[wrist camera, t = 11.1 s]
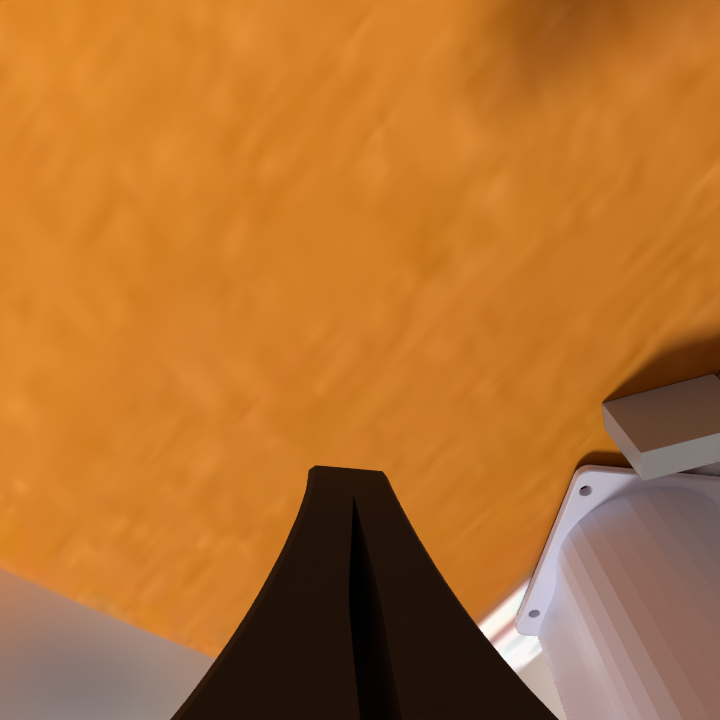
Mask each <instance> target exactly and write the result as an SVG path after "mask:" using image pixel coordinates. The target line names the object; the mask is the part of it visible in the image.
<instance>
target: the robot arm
mask: <svg viewBox="0 0 720 720" xmlns="http://www.w3.org/2000/svg"><path fill="white" fill-rule="evenodd" d="M584 486H587V487H586V488H584V489H581V488H582V487H584ZM515 626H516V630H517V632H518V633H520V634H521V635H528V636H538V639H539V642H540V645H541V647H542V650H543V653H544V655H545V658H546V661H547V664H548V667H549V670H550V672H551V675H552V678H553V681H554V684H555V686H556V689H557V692H558V695H559V697H560V700H561V703H562V706H563V709H564V712H565V714H566V717H567V720H720V477H717V476H706V475H696V474H685V473H673V474H669V475H665V476H661V477H657V478H653V479H649V480H645V481H643V480H642V479H641V477H640V476H639V475H638V473H637V472H636V471H635V469H631V468H620V467H610V466H599V465H585V466H582V467H580V468H579V469H578V470H577V471H576V472H575V474H574V476H573V478H572V481H571V483H570V486H569V488H568V491H567V493H566V496H565V498H564V501H563V503H562V506H561V508H560V511H559V513H558V516H557V518H556V521H555V523H554V526H553V528H552V531H551V533H550V536H549V538H548V541H547V543H546V546H545V548H544V551H543V553H542V556H541V558H540V561H539V563H538V566H537V568H536V571H535V573H534V575H533V578H532V580H531V583H530V585H529V588H528V590H527V593H526V595H525V598H524V600H523V603H522V605H521V608H520V610H519V613H518V615H517V618H516V620H515ZM170 720H559V719H558V718H557V717H556V716H555V715H554V714H553V713H552V712H551V711H550V710H549V709H548V708H547V707H546V706H545V705H544V704H543V703H542V702H541V701H540V700H539V699H538V698H537V697H536V695H535V694H534V693H533V692H532V691H531V690H530V689H529V688H528V687H527V686H526V685H525V683H524V682H523V681H522V680H521V679H520V678H519V676H518V675H517V674H516V673H515V672H514V671H513V669H512V668H511V667H510V666H509V665H508V664H507V662H506V661H505V660H504V659H503V658H502V657H501V655H500V654H499V653H498V652H497V650H496V649H495V648H494V647H493V645H492V644H491V643H490V642H489V640H488V639H487V638H486V637H485V635H484V634H483V633H482V632H481V630H480V629H479V628H478V626H477V625H476V624H475V622H474V621H473V620H472V618H471V617H470V616H469V614H468V613H467V611H466V610H465V609H464V607H463V606H462V605H461V603H460V602H459V600H458V599H457V597H456V596H455V594H454V593H453V592H452V590H451V589H450V587H449V586H448V584H447V583H446V581H445V580H444V578H443V577H442V575H441V574H440V572H439V571H438V569H437V567H436V566H435V564H434V563H433V561H432V559H431V558H430V556H429V554H428V553H427V551H426V549H425V548H424V546H423V544H422V543H421V541H420V540H419V538H418V536H417V534H416V533H415V531H414V529H413V527H412V526H411V524H410V522H409V520H408V518H407V516H406V514H405V513H404V511H403V509H402V507H401V505H400V503H399V501H398V499H397V497H396V495H395V493H394V491H393V489H392V487H391V485H390V483H389V480H388V478H387V476H386V475H385V474H384V473H383V472H382V471H374V470H363V469H351V468H340V467H329V466H317V465H316V466H314V467H313V468H311V469H310V470H309V473H308V480H307V487H306V491H305V495H304V498H303V501H302V504H301V507H300V510H299V512H298V515H297V518H296V520H295V522H294V525H293V527H292V529H291V531H290V534H289V536H288V538H287V540H286V543H285V545H284V547H283V549H282V551H281V553H280V555H279V557H278V559H277V561H276V563H275V565H274V567H273V568H272V570H271V572H270V574H269V576H268V578H267V580H266V581H265V583H264V585H263V587H262V589H261V591H260V592H259V594H258V596H257V597H256V599H255V601H254V603H253V604H252V606H251V608H250V609H249V611H248V612H247V614H246V616H245V617H244V619H243V620H242V622H241V623H240V625H239V627H238V628H237V630H236V631H235V633H234V634H233V636H232V637H231V639H230V640H229V642H228V643H227V645H226V646H225V648H224V649H223V650H222V652H221V653H220V655H219V656H218V657H217V659H216V660H215V662H214V663H213V665H212V666H211V667H210V669H209V670H208V672H207V673H206V674H205V676H204V677H203V679H202V680H201V681H200V683H199V684H198V685H197V687H196V688H195V689H194V691H193V692H192V693H191V695H190V696H189V697H188V698H187V700H186V701H185V703H183V705H182V706H181V707H180V709H179V710H178V711H177V712H176V713H175V715H174V716H173V717H172V718H171V719H170Z"/></svg>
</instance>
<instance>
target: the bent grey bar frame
mask: <svg viewBox="0 0 720 720" xmlns="http://www.w3.org/2000/svg"><path fill="white" fill-rule="evenodd" d="M602 408H603V417H604V426H605V430H606V431H607V433H608V434H609V435H610V437H611V438H612V439H613V441H614V442H615V443H616V445H617V446H618V448H619V449H620V450H621V452H622V453H623V454H624V456H625V457H626V458H627V460H628V461H629V463H630V464H631V465H632V467H633V468H634V469H635V471H636V472H637V473H638V475H639V476H640V477H641V479H642V480H643V481H645V480H649V479H653V478H657V477H661V476H665V475H669V474H673V473H677V472H681V471H685V470H689V469H693V468H697V467H701V466H704V465H708V464H712V463H716V462H720V373H719V375H718V377H716V376H715V375H714V374H710V375H706V376H702V377H698V378H695V379H691V380H687V381H683V382H680V383H676V384H672V385H668V386H665V387H661V388H657V389H653V390H650V391H646V392H642V393H638V394H635V395H631V396H627V397H623V398H620V399H616V400H612V401H608V402H605V403H602Z"/></svg>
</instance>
